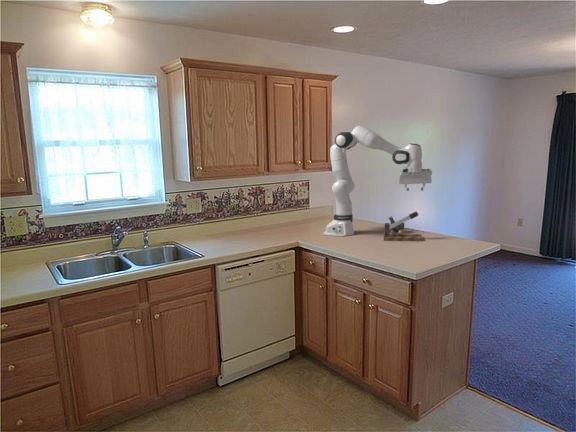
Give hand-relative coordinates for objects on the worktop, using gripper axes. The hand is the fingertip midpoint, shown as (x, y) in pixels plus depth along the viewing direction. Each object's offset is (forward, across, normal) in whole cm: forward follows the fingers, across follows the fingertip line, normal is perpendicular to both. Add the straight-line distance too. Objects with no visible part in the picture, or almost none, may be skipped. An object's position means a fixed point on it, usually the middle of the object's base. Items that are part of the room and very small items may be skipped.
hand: (414, 190), depth 265 cm
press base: (+32, +8, 0) cm, 33 cm away
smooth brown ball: (+30, +9, 0) cm, 31 cm away
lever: (+20, +7, 0) cm, 22 cm away
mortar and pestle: (+32, +12, -19) cm, 39 cm away
